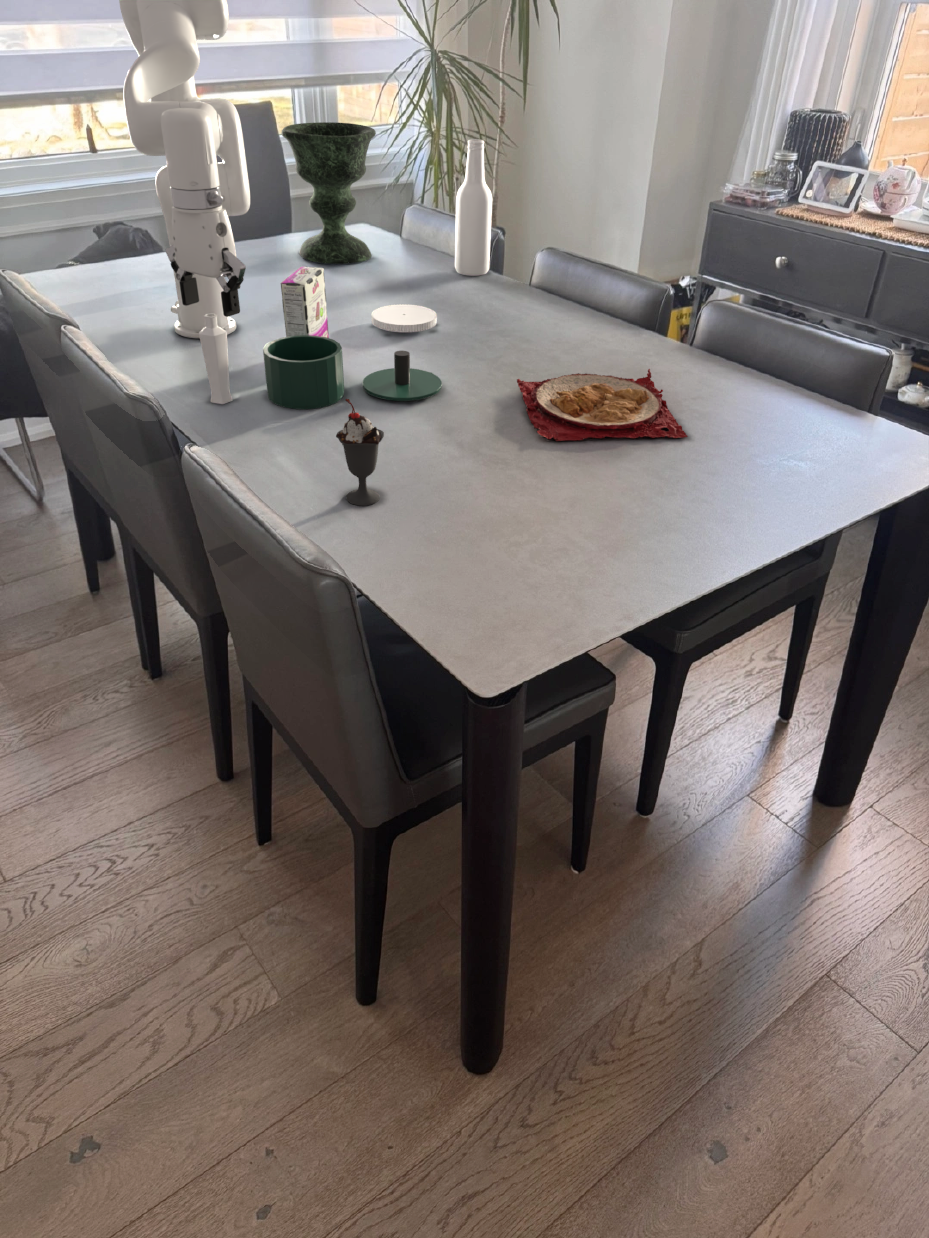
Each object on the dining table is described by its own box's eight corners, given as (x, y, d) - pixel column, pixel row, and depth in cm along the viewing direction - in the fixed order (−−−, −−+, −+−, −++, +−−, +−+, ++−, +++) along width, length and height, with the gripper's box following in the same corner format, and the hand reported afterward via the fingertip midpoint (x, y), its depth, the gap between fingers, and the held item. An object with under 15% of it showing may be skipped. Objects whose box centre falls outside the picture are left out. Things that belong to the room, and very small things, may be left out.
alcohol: (457, 265, 238) (460, 136, 220) (491, 268, 237) (496, 138, 219) (452, 275, 231) (454, 142, 213) (486, 277, 230) (492, 144, 212)
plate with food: (515, 388, 172) (516, 371, 170) (649, 383, 174) (651, 365, 172) (538, 445, 153) (540, 426, 151) (687, 438, 155) (691, 419, 153)
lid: (349, 396, 166) (347, 360, 162) (381, 369, 177) (381, 335, 173) (424, 409, 162) (424, 372, 158) (452, 380, 173) (453, 346, 169)
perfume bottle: (239, 397, 164) (229, 313, 155) (226, 406, 161) (215, 320, 152) (217, 393, 165) (206, 309, 157) (204, 402, 162) (191, 317, 153)
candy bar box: (306, 349, 185) (300, 265, 175) (330, 352, 184) (325, 267, 174) (287, 369, 176) (279, 281, 166) (312, 372, 175) (305, 284, 165)
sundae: (340, 487, 138) (335, 392, 129) (385, 487, 138) (382, 392, 129) (339, 509, 132) (333, 411, 124) (385, 508, 133) (383, 411, 124)
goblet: (342, 273, 229) (335, 139, 212) (274, 257, 239) (263, 128, 221) (394, 255, 244) (392, 128, 227) (329, 241, 254) (322, 119, 236)
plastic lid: (398, 341, 190) (398, 329, 188) (358, 323, 198) (358, 312, 197) (449, 328, 198) (450, 316, 196) (409, 312, 206) (409, 300, 204)
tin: (254, 402, 163) (248, 355, 158) (290, 375, 173) (286, 331, 168) (323, 414, 159) (320, 366, 154) (356, 386, 170) (354, 341, 165)
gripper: (253, 202, 142) (264, 313, 152) (177, 188, 150) (192, 295, 160) (217, 210, 137) (231, 324, 147) (140, 195, 145) (158, 304, 155)
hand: (211, 309), depth 153 cm, fingers open, 9 cm apart
